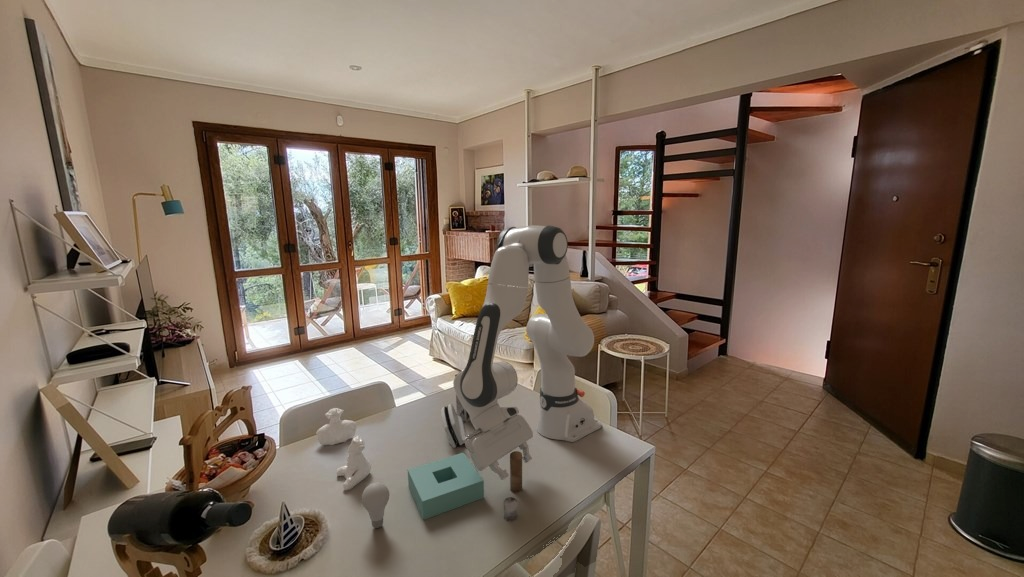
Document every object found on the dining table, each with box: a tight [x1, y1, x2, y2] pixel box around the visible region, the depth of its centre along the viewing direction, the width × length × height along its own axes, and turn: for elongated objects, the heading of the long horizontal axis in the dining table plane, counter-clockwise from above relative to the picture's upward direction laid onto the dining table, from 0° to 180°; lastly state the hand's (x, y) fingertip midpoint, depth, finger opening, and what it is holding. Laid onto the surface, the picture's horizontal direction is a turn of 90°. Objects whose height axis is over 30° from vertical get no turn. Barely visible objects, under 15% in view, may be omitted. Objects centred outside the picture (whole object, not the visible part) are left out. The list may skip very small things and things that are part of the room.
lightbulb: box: [361, 481, 390, 529], centre depth 94 cm, size 6×6×11 cm
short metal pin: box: [503, 496, 518, 522], centre depth 98 cm, size 3×3×4 cm
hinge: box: [440, 403, 467, 449], centre depth 134 cm, size 17×5×10 cm, turn 13°
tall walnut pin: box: [509, 450, 523, 494], centre depth 107 cm, size 3×3×10 cm
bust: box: [315, 407, 357, 446], centre depth 132 cm, size 12×8×11 cm
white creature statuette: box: [336, 434, 372, 492], centre depth 112 cm, size 10×9×12 cm
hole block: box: [407, 452, 485, 521], centre depth 106 cm, size 16×14×5 cm
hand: (517, 469), depth 106 cm, fingers open, 8 cm apart
